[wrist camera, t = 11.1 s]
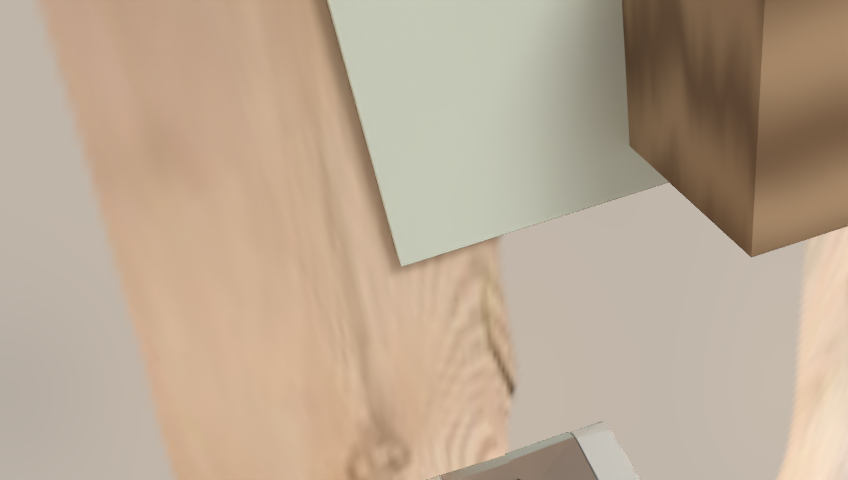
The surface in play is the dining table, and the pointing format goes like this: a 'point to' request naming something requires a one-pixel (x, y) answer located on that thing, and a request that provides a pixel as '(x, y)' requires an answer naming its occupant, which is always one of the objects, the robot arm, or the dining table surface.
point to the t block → (744, 111)
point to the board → (489, 113)
